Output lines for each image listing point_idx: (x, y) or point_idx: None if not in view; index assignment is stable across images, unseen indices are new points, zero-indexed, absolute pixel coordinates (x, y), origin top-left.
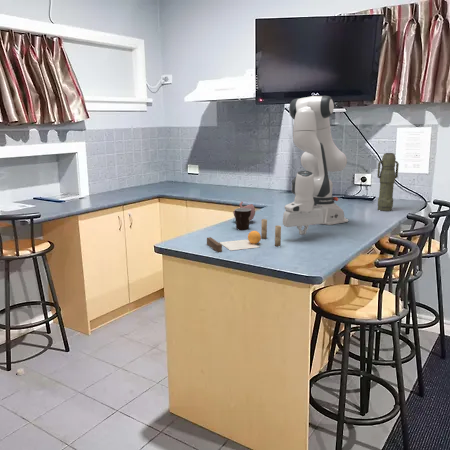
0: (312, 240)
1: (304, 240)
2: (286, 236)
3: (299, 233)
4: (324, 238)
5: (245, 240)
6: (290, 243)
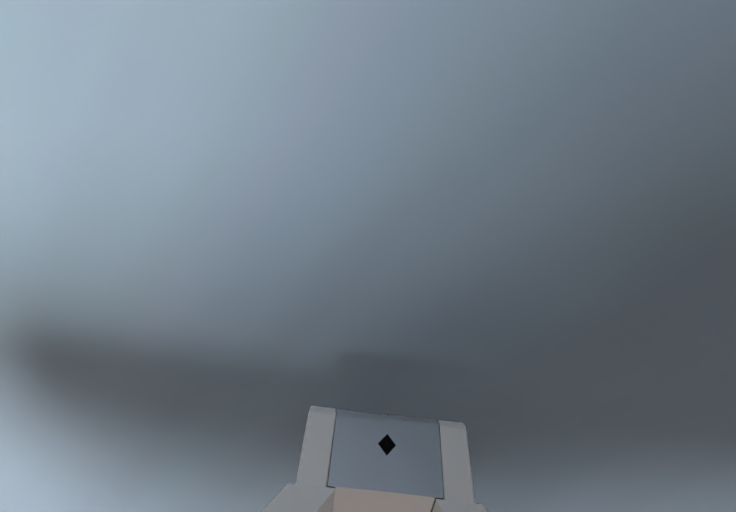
0: None
1: None
2: (97, 62)
3: (307, 427)
4: (720, 503)
5: None
6: (22, 466)
